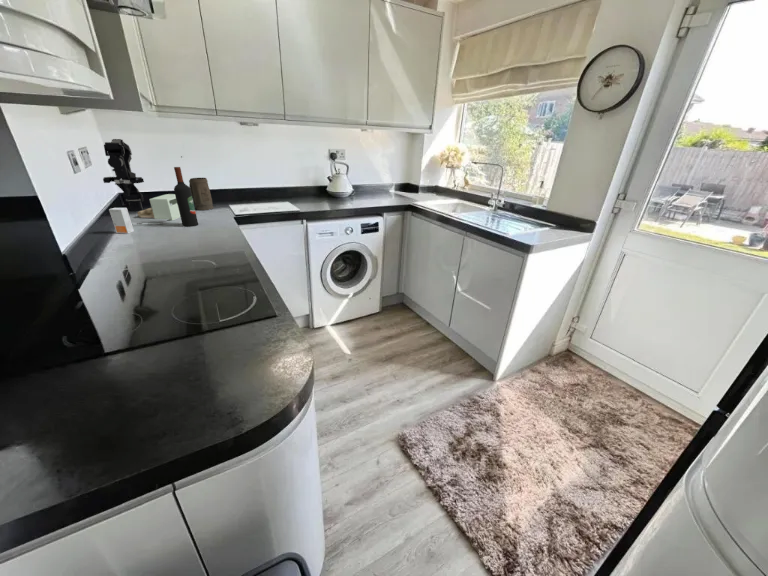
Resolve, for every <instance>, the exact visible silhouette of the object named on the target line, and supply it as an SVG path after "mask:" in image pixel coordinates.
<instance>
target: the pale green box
mask: <svg viewBox="0 0 768 576" xmlns="http://www.w3.org/2000/svg"><path fill="white" fill-rule="evenodd" d="M149 203H150V207H151V208H152V210H153V214H154V217H155V218H154V219H155V220H166V221H168V222H169V221H174V220H177V219H181V217H180V213H179V208H178V204H177V200H176V196H175V193H168V194H167V193H166V194H162V195H158V196H155V197H152V198H149ZM170 203H172V205H171V206H170Z"/></svg>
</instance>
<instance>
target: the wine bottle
mask: <svg viewBox="0 0 768 576" xmlns="http://www.w3.org/2000/svg"><path fill="white" fill-rule="evenodd" d="M173 168H174V174H175V177H176V181H177V182H176V183H177V184H176V185H175V186H174V187H173V192H174V194H175V196H176V200H177V204H178V208H179V213H180V220H181V223H182V227H184V228H191V227H197V226H199V222H198V217H197V213H196V208H195V207H196V206H195V203H194V199H193V196H192V194H191V189H190V187H189V185H187V184H186V183H185V181H184V178H183V174H182V169H181V166H174V167H173Z"/></svg>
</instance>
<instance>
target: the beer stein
mask: <svg viewBox="0 0 768 576" xmlns="http://www.w3.org/2000/svg"><path fill="white" fill-rule="evenodd" d="M208 182H209V181H208V179H207V177H192V178H189V180H188V183H189V185H188V186H189V187H190V189H191V194H192V198H193V203H194V207H195V210H196V209H197V210H196V211H210V210H209V209H211V210H214V208H215V207H214V204H213V198H212V194H211V190H210V187H209V183H208Z"/></svg>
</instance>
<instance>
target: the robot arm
mask: <svg viewBox="0 0 768 576" xmlns="http://www.w3.org/2000/svg"><path fill="white" fill-rule="evenodd" d="M103 147H104V153H105V156H106V157H109V158H108V159H107V164H108V165H109V166H110V167H111V168H112V169H111V171H112V172H114V174H115V176H105V177H103V178H102V180H103V183H104V184H109V183H113V182H114V185H116V186H117V187H119V189H120V190H121V191H122V195H123V199H124V201H125V203H128V204H129V207H130V211H131V212H140V211H143V210H144V208H143V207H144V206H143V205H142V202H144V201H145V199H144V195H143V194H142V193H141V191H140V190H139V188H138V187H137V186H135V184H141V183H145V181H144V178H143V177H141V176H137V175H136V173H135V172H133V171H132V169H131V164H130V162H131V160H132V155H133V153H132V149H131V148H130V146H129V144H127V143H126V142H125V141H124V139H121V138H119V139H117V138H113V139H111V141H110V142H109V141H106V142H104V144H103Z"/></svg>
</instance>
